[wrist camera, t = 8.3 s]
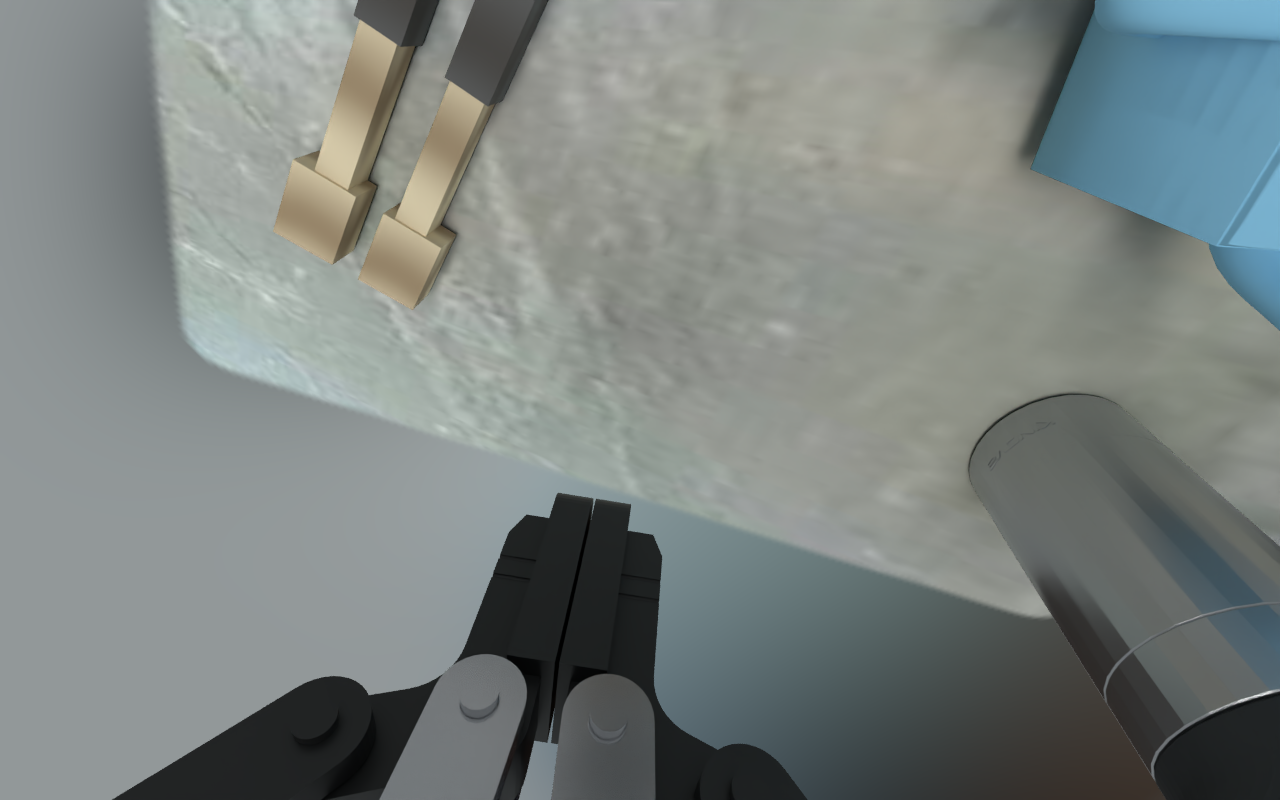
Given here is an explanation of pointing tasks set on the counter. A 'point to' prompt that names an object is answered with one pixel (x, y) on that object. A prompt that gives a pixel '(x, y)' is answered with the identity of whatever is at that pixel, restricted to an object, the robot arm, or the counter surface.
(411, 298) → the tong arm
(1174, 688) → the robot arm
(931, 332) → the counter surface
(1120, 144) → the teakettle
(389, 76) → the tongs frame
